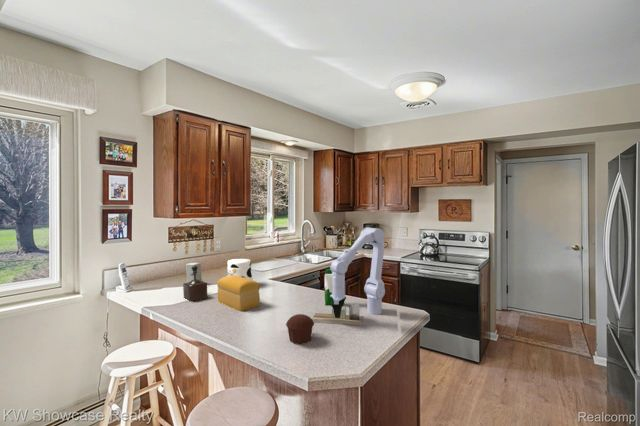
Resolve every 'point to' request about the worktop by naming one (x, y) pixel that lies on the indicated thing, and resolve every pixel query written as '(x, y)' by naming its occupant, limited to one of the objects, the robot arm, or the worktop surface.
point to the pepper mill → (195, 288)
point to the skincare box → (190, 271)
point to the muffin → (300, 328)
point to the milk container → (240, 268)
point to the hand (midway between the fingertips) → (338, 314)
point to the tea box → (343, 313)
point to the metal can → (354, 311)
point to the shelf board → (328, 319)
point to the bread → (238, 292)
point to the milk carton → (328, 287)
